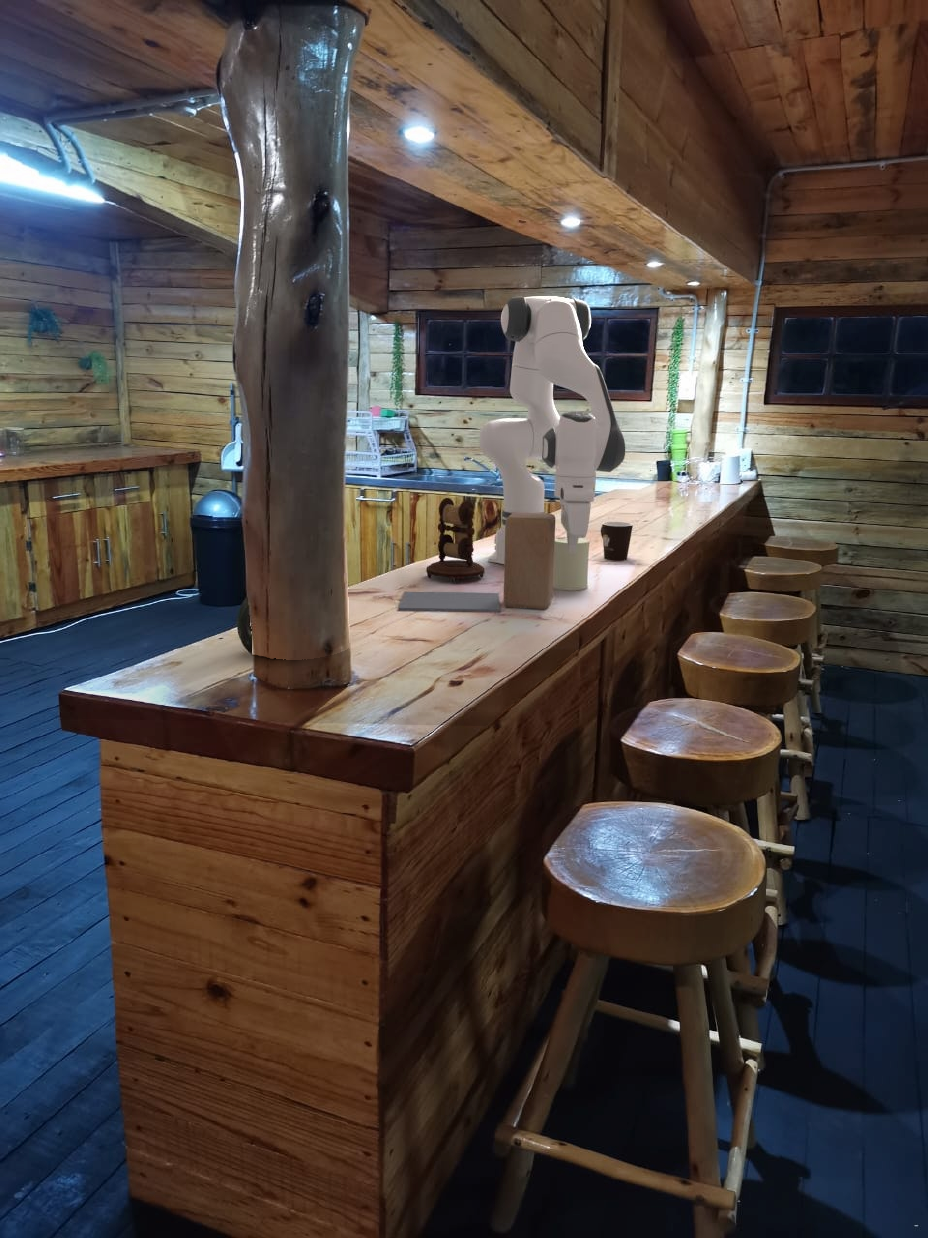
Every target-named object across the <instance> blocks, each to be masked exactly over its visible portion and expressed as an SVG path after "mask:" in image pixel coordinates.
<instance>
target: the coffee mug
mask: <svg viewBox="0 0 928 1238" xmlns="http://www.w3.org/2000/svg"><path fill="white" fill-rule="evenodd" d="M601 525H602V526H601V528H600V535H601V538H602V544H603V558H604V560H607V561H612V562H613V561H614V562H624V561H627V560H628V555H629V549H630V544H631V537H632V531H633V527H634V524H633V523H631V522H625V521H604V522H602V523H601Z"/></svg>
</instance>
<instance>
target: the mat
mask: <svg viewBox="0 0 928 1238" xmlns="http://www.w3.org/2000/svg"><path fill="white" fill-rule="evenodd" d="M397 611H399V612H400V611H402V612H405V611H406V612H408V611H409V612H411V611H412V612H458V613H459V612H460V613H461V612H462V613H463V612H465V613H470V612H472V613H501V606H500V595H499V592H476V591H475V592H472V591H471V592H470V591H468V592H465V591H461V592H460V591H459V592H457V591H410V590H407V591H405V590H404V591H403V594H402V596H401V599H400V602H399V605H398V608H397Z"/></svg>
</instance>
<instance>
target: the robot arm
mask: <svg viewBox="0 0 928 1238" xmlns="http://www.w3.org/2000/svg"><path fill="white" fill-rule="evenodd" d="M500 315H501V317H500V324H501V329H502V333H503V335H504V336H505V338H506V339H508V340H509V341H513V342H515V343H514V349H513V353H512V354H513V355H512V362H511V363H512V364H511V375H510V383H509V393H510V396H511V397H512V399H513V400H514V401H515V402H516V403H517V404H519V405H521V406H523V407H525V408H526V409H527V417H526V418H525V417H524V418H522V417H521V418H516V417H515V418H514V417H513V418H512V417H510V418H505V417H504V418H502V417H501V418H498V419H493V420H490V421H486V422H485V423H484V425H483V426H482V427H481V428H480V429H481V430H480V431H479V436H478V443H479V448H480V450H481V452H482V453H483V455H484V456H485V457H486V458H487V459H489V460H490V461H491V462H492V463H493V465H494V466H495V467H496V469H497V471H498V472H499V475H500V477H501V482H502V487H503V489H502V490H503V510H502V511H501V524H502V525H501V527H500V528H499V529H498V530H497V531H496V532H495V533H496V534H495V535H494V540H493V543H494V544H495V545H494V552H493V553H492V554H491V555H490V556H489V557H488V558H487V559H488V560H487V562H490V563H498V564H501V565H504V559H505V521H506V519H507V518H508V517H509V516H510V515H511V514H512V513H515V512H522V513H546V511H545V489H546V488H545V483H544V481H543V479H542V478H541V477H539V476H537V475H536V474H534V473H532V472H530V471H528V469H527V466H526V463H527V462H526V461H534V460H535V461H537V460H538V461H539V460H541V461H543V462H544V463H545V465H547V466H548V467H549V468H551V469H555V472H554V489H553V490H554V493H553V496H554V497H556V498H559V505H561V508H560V509H561V511H560V524H561V526H562V527H563V528H564V530H565V532H566V537H567V542H568V544H567V549H568V551H569V552H570V553H576V552H577V543H578V539H579V538H585V539H586V537H587V534H588V530H589V523H590V516H591V514H590V513H591V505H592V504H591V503H593V502H594V501H595V497H596V484H597V481H596V479H597V472H604V473H605V472H606V473H611V472H613V471H614V470H615V469H617V468H618V467H619V466H620V465H621V464H622V463H623V461H624V460H625V457H626V443H625V439H624V438H625V437H624V435H623V433H622V429H621V428H620V426H619V424H618V421H617V418H616V415H615V411H614V408H613V405H612V402H611V398H610V395H609V391H608V387H607V384H606V382H605V378H604V376H603V373H602V371H601V369H600V367H599V365H597V364H595V363H594V362H593V361H592V360H591V359H590V358H589V356H588V355H587V353H586V351H585V349H584V346H583V345H584V344H583V341H584V340H585V339H586V338H587V336H588V334H589V331H590V328H591V324H592V317H591V308H590V306H589V305H588V303H587V302H586V301H584V300H580V299H578V298H572V299H571V298H565V297H562V296H561V297H560V296H552V295H551V296H550V295H547V296H526V297H524V296H523V295H522V296H521V295H520V296H514V297H511V298H509V299H508V300H507V301H506V302H505V303H504V306H503V309H502V312H501V314H500ZM554 385H555V386H558V387H562V388H564V389H568V390H570V391H572V392H575V393H577V394H578V395H580V396H582V397H583V398H584V399H585V400H586V401H587V403H588V405H589V409H590V411H591V413H590V412H589V413H588V412H584V411H567V412H563V413H562V414H561V415H559V413H558V411H557V409H556V406H555V402H554V396H553V395H554V394H553V393H554V392H553V391H554Z"/></svg>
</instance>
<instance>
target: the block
mask: <svg viewBox="0 0 928 1238" xmlns="http://www.w3.org/2000/svg"><path fill="white" fill-rule="evenodd" d="M555 538H556V517H555V514H553V513H547V512H545V513H522V512H515V513H512V514H511V515H510V516H509V517H508V518H507V519H506V521H505V559H504V564H503V567H504V569H503V570H504V571H503V600H502V601H503V605H504V606H505V607H506V608H515V609H531V610H546V609H548V608H549V606H550V603H551V601H552V599H553V592H554V591H553V589H554V588H553V570H554V544H555Z"/></svg>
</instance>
